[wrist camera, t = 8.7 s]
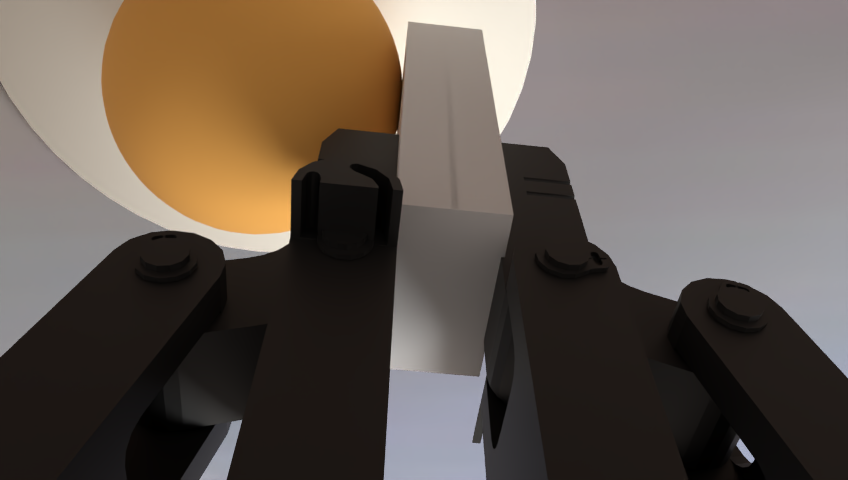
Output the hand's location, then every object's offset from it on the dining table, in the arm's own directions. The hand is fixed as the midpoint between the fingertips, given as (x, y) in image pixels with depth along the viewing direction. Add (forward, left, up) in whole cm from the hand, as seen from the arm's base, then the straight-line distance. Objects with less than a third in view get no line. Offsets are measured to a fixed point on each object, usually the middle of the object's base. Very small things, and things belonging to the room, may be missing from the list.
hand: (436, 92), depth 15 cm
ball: (0, -3, +1) cm, 3 cm away
